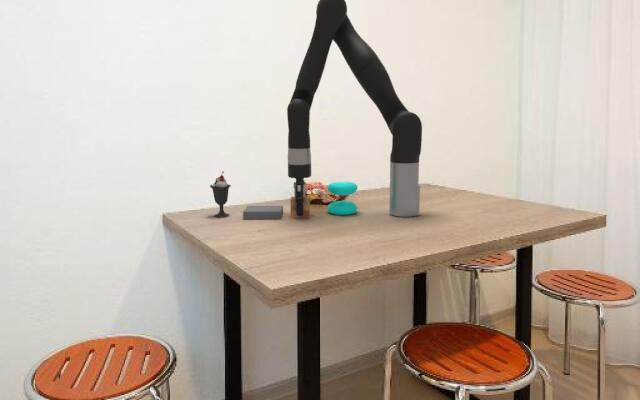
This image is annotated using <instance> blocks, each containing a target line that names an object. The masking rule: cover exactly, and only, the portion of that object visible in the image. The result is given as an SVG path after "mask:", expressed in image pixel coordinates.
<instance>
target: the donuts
mask: <svg viewBox="0 0 640 400" xmlns="http://www.w3.org/2000/svg"><path fill="white" fill-rule="evenodd" d="M327 191H328V192H329V193H330V194H332V195H335V196H350V195H353V194H355V193H356V192H357V191H358V184H356V183H355V182H351V181H350V182H349V181H335V182H334V181H333V182H329V184H328V185H327ZM327 210H328V212H329V214H332V215H337V216H338V215H339V216H345V215H346V216H348V215H349V216H350V215H353V214H355V213H357V211H358V206H357V204H356V203H355V202H353V201H347V200H337V201H336V200H335V201H333V202H331V203H329V204H328V206H327Z"/></svg>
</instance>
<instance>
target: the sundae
mask: <svg viewBox="0 0 640 400" xmlns="http://www.w3.org/2000/svg"><path fill="white" fill-rule="evenodd" d="M224 173H225V172H224V170H223V171H222V172H221V175H220V176H219V177H217V178H215V182H214V183H212V184H211V185H209V187H210V188H211V189H212V194H213V198H214V201H215V203H216V205H218V206H219V211H218V213H215V214H214V217H215V218H226V217H229V216H230V214H229V213H226V212H225V210H224V205H225V204H227V202H228V198H229V190H230V188H231V185H230V184H228V183H227V180H226V178H225V177H224V176H225V175H223V174H224Z"/></svg>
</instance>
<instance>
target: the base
mask: <svg viewBox="0 0 640 400" xmlns="http://www.w3.org/2000/svg"><path fill="white" fill-rule="evenodd" d="M283 216H284V205H247V206H246V207H245V208H244V210H243V212H242V220H244V221H246V220H247V221H250V220H252V221H253V220H257V221H260V220H263V221H264V220H268V221H269V220H282V218H283Z"/></svg>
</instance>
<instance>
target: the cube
mask: <svg viewBox="0 0 640 400" xmlns="http://www.w3.org/2000/svg"><path fill="white" fill-rule="evenodd" d="M310 197H311V196H306V195H305V197H304V204H303V216H297V214H296V203H295V201H296V199H295V196H290V199H289V200H290V202H289V203H290V219H310V218H311V217H310V215H311V212H310V211H311V208H310V207H311V206H310V202H311V201H310ZM297 200H302V198H297Z"/></svg>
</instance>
